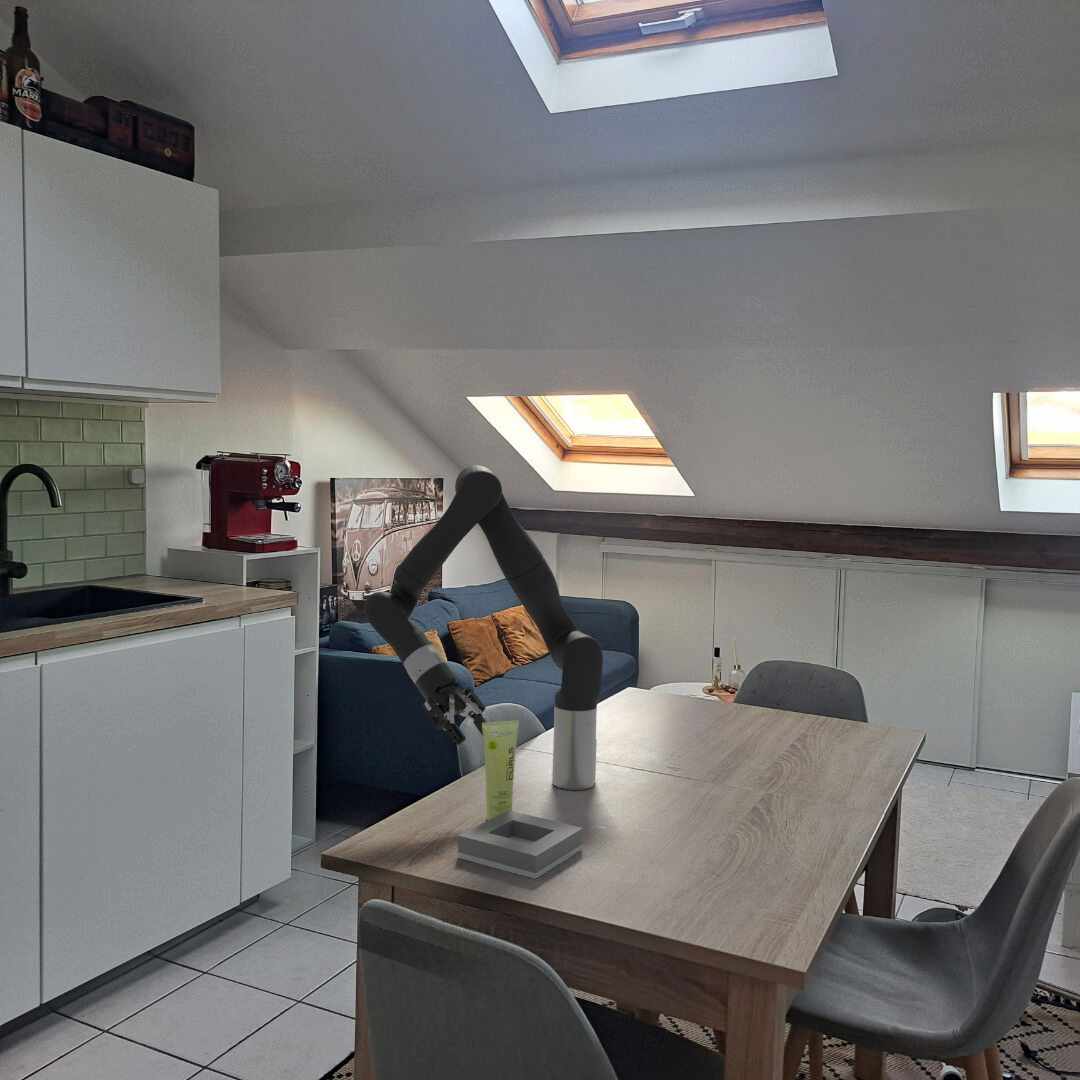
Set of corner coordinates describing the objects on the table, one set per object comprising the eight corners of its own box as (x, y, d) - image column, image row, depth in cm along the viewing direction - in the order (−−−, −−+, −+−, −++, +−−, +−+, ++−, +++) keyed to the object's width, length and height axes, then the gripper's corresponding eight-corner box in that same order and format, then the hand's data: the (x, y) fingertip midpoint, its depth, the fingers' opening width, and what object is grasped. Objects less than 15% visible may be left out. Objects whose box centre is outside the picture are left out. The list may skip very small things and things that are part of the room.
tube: (501, 826, 191) (504, 726, 190) (479, 821, 194) (481, 722, 192) (516, 818, 196) (519, 720, 195) (494, 813, 199) (497, 716, 197)
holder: (508, 830, 189) (508, 810, 189) (582, 849, 181) (582, 828, 180) (457, 857, 175) (458, 835, 175) (535, 879, 167) (536, 855, 167)
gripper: (418, 666, 195) (465, 734, 189) (461, 656, 207) (506, 719, 201) (396, 689, 198) (442, 756, 193) (440, 678, 210) (484, 741, 205)
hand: (475, 737), depth 197 cm, fingers open, 8 cm apart
